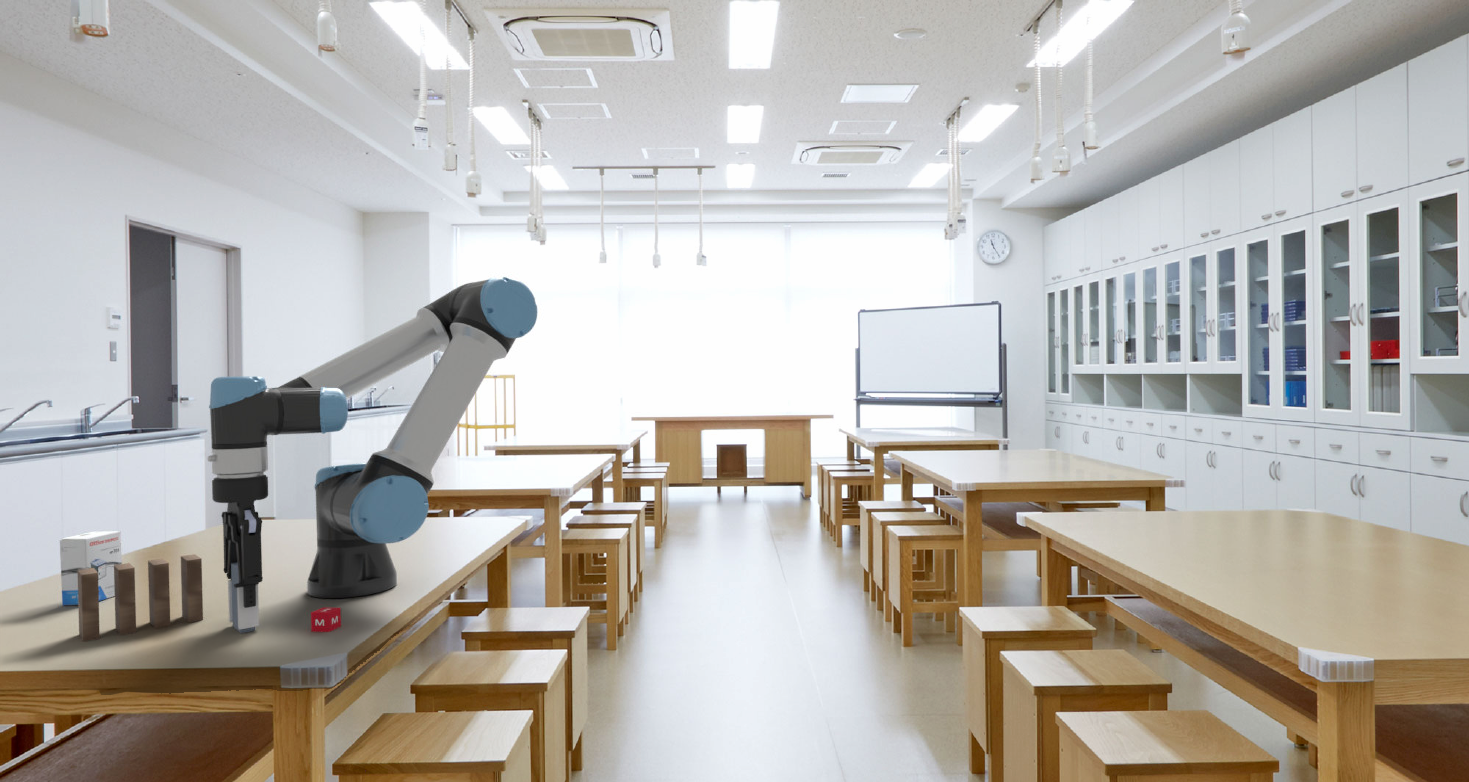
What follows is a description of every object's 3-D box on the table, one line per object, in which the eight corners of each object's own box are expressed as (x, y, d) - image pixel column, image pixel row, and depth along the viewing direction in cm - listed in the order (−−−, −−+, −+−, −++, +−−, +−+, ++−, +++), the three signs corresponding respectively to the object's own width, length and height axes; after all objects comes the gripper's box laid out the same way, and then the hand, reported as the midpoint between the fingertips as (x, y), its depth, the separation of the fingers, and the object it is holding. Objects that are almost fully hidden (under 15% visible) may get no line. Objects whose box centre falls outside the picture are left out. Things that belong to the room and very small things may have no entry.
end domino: (95, 631, 130) (93, 567, 130) (99, 638, 127) (98, 572, 127) (79, 634, 129) (77, 569, 129) (83, 641, 125) (81, 574, 125)
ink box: (87, 605, 146) (85, 538, 146) (59, 606, 146) (57, 539, 146) (124, 593, 155) (123, 530, 155) (98, 593, 155) (96, 530, 155)
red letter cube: (329, 632, 128) (328, 612, 128) (311, 631, 128) (310, 612, 128) (341, 626, 131) (340, 607, 131) (323, 626, 131) (323, 607, 131)
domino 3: (196, 613, 140) (194, 554, 140) (203, 619, 136) (201, 558, 136) (182, 616, 138) (180, 556, 138) (188, 622, 135) (187, 560, 135)
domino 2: (164, 619, 137) (162, 558, 136) (170, 625, 133) (168, 563, 133) (149, 622, 135) (147, 560, 135) (155, 628, 132) (153, 565, 131)
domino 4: (246, 623, 133) (245, 561, 133) (255, 630, 130) (253, 565, 130) (232, 626, 132) (231, 563, 132) (240, 633, 128) (239, 568, 128)
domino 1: (131, 625, 133) (129, 563, 133) (136, 631, 130) (134, 567, 130) (115, 628, 132) (113, 565, 132) (120, 634, 128) (118, 569, 128)
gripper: (199, 473, 134) (203, 617, 135) (226, 481, 121) (230, 641, 122) (251, 469, 140) (255, 608, 140) (283, 476, 127) (287, 630, 127)
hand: (243, 623), depth 131 cm, fingers closed on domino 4, 5 cm apart
